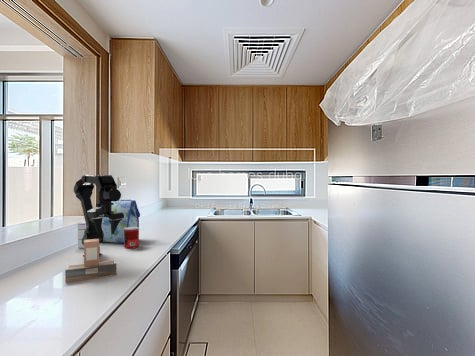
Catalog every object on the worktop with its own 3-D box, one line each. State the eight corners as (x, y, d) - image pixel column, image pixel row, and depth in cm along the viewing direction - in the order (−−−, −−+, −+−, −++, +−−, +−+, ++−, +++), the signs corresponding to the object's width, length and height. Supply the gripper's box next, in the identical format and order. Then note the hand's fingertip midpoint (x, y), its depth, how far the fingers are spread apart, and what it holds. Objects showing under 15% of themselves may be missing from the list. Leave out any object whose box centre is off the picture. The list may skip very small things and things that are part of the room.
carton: (99, 266, 126) (98, 238, 126) (99, 270, 121) (98, 241, 121) (84, 268, 124) (84, 239, 124) (84, 272, 119) (83, 242, 119)
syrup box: (86, 248, 165) (86, 222, 165) (77, 248, 167) (77, 222, 167) (93, 246, 171) (93, 221, 171) (84, 245, 172) (84, 221, 172)
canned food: (141, 245, 170) (141, 227, 170) (132, 249, 163) (132, 229, 163) (130, 245, 173) (130, 226, 173) (121, 248, 165) (121, 228, 165)
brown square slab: (69, 269, 128) (69, 258, 128) (113, 263, 136) (113, 253, 136) (65, 282, 111) (65, 270, 111) (116, 275, 119) (116, 264, 119)
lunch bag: (141, 238, 191) (141, 198, 191) (128, 244, 175) (127, 200, 175) (110, 237, 195) (110, 198, 195) (94, 243, 179) (94, 200, 179)
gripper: (76, 202, 137) (76, 235, 137) (105, 202, 129) (106, 237, 129) (96, 200, 147) (97, 231, 147) (124, 200, 139) (125, 233, 139)
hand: (105, 233), depth 140 cm, fingers open, 9 cm apart
